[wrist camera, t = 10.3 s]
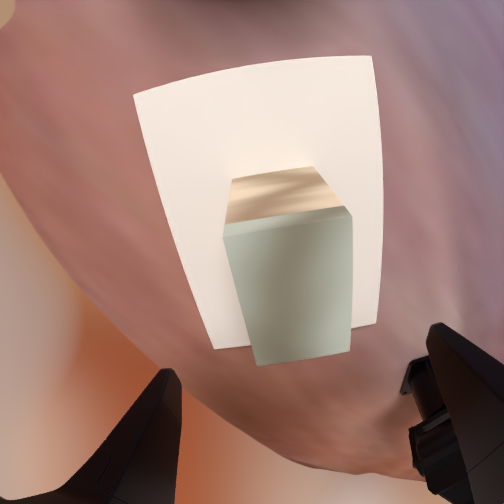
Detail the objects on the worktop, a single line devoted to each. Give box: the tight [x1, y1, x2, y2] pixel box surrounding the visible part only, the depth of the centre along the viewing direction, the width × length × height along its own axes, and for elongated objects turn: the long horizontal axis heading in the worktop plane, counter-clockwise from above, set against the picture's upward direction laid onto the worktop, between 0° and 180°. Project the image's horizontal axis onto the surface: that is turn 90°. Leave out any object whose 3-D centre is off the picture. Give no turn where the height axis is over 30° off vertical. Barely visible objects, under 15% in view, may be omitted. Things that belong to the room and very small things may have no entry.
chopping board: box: [133, 56, 383, 349], centre depth 18 cm, size 19×13×1 cm
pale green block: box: [223, 166, 353, 366], centre depth 15 cm, size 4×7×7 cm, turn 10°
